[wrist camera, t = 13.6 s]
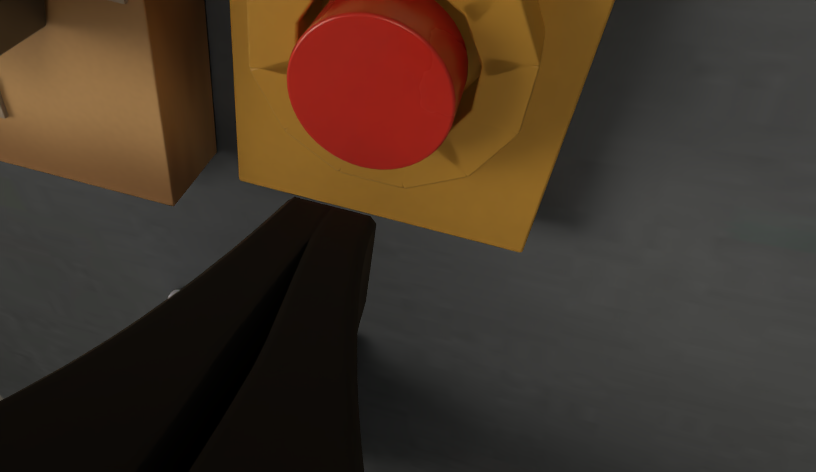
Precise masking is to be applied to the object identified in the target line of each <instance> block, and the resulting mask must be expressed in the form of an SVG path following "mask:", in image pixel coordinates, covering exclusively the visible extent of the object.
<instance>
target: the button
mask: <svg viewBox="0 0 816 472" xmlns="http://www.w3.org/2000/svg"><path fill="white" fill-rule="evenodd" d="M467 75H468V57H467V50H466V47H465V43H464V40H463V38H462V35H461V33H460V31H459V29H458V27H457V25H456V24H455V22H454V21H453V19H452V18H451V17H450V15H449V14H448V13H447V12H446V11H445V10H444V9H443V8H442V7H441V6H440V4H438V3H437V2H436V1H435V0H330V1H329V3H328V4H327V5H326V6H325V7H324V9H323V10H322V11H321V12H320V14H319V15H318V16H317V17H316V18H315V20H314V21H313V22H312V23H311V25H310V26H309V27H308V28H307V30H306V31H305V32H304V33H303V35H302V36H301V37H300V38H299V40H298V41H297V43H296V44H295V46H294V48H293V50H292V53H291V55H290V58H289V62H288V67H287V89H288V94H289V99H290V102H291V105H292V108H293V110H294V112H295V114H296V116H297V118H298V120H299V121H300V123H301V125H302V126H303V128H304V129H305V130H306V131H307V133H308V134H309V135H310V136H311V137H312V138H313V139H314V140H315V141H316V142H317V143H318V144H319V145H320V146H321V147H323V148H324V149H325V150H327V151H328V152H330V153H331V154H332V155H334V156H336V157H338V158H340V159H341V160H344V161H346V162H348V163H351V164H354V165H357V166H360V167H364V168H369V169H378V170H392V169H399V168H404V167H407V166H411V165H413V164H415V163H418V162H420V161H422V160H423V159H425V158H427V157H428V156H430V155H431V154H432V153H433V152H435V151H436V150H437V149H438V148H439V147H440V146H441V145H442V143H443V142H444V140H445V139H446V138H447V136H448V134H449V132H450V130H451V128H452V125H453V122H454V119H455V116H456V113H457V110H458V106H459V103H460V100H461V97H462V94H463V91H464V88H465V85H466V81H467Z"/></svg>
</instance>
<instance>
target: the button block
mask: <svg viewBox="0 0 816 472" xmlns="http://www.w3.org/2000/svg"><path fill="white" fill-rule="evenodd" d="M329 1H330V0H230V18H231V37H232V55H233V74H234V92H235V110H236V129H237V147H238V166H239V179H240V180H241V181H244V182H248V183H252V184H256V185H259V186H263V187H267V188H271V189H275V190H279V191H283V192H287V193H291V194H294V195H298V196H302V197H306V198H310V199H314V200H318V201H322V202H326V203H329V204H333V205H337V206H341V207H345V208H349V209H353V210H357V211H361V212H364V213H368V214H372V215H376V216H380V217H384V218H388V219H392V220H396V221H399V222H403V223H407V224H411V225H415V226H419V227H423V228H427V229H431V230H434V231H438V232H442V233H446V234H450V235H454V236H458V237H462V238H465V239H469V240H473V241H477V242H481V243H485V244H489V245H493V246H497V247H500V248H504V249H508V250H512V251H516V252H522V251H523V249H524V246H525V244H526V241H527V238H528V235H529V233H530V230H531V227H532V225H533V222H534V219H535V216H536V214H537V211H538V208H539V206H540V203H541V200H542V197H543V195H544V192H545V189H546V187H547V184H548V181H549V178H550V176H551V173H552V170H553V168H554V165H555V162H556V159H557V157H558V154H559V151H560V149H561V146H562V143H563V140H564V138H565V135H566V132H567V130H568V127H569V124H570V121H571V119H572V116H573V113H574V110H575V108H576V105H577V102H578V100H579V97H580V94H581V91H582V89H583V86H584V83H585V81H586V78H587V75H588V72H589V70H590V67H591V64H592V62H593V59H594V56H595V53H596V51H597V48H598V45H599V43H600V40H601V37H602V34H603V32H604V29H605V26H606V24H607V21H608V18H609V15H610V13H611V10H612V7H613V4H614V2H615V0H435V1H436V2H437V3H438V4H440V6H441V7H442V8H443V9H444V10H445V11H446V12H447V13H448V14H449V15H450V17H451V18H452V19H453V21H454V22H455V24H456V25H457V27H458V29H459V31H460V33H461V35H462V38H463V40H464V43H465V47H466V50H467V57H468V75H467V81H466V85H465V88H464V91H463V94H462V97H461V100H460V103H459V106H458V110H457V113H456V116H455V119H454V122H453V125H452V128H451V130H450V132H449V134H448V136H447V138H446V139H445V140H444V142H443V143H442V145H441V146H440V147H439V148H438V149H437V150H436V151H435V152H433V153H432V154H431V155H430V156H428V157H427V158H425V159H423V160H422V161H420V162H418V163H415V164H413V165H411V166H407V167H404V168H399V169H392V170H378V169H369V168H364V167H360V166H357V165H354V164H351V163H348V162H346V161H344V160H341V159H340V158H338V157H336V156H334V155H332V154H331V153H330V152H328V151H327V150H325V149H324V148H323V147H321V146H320V145H319V144H318V143H317V142H316V141H315V140H314V139H313V138H312V137H311V136H310V135H309V134H308V133H307V131H306V130H305V129H304V128H303V126H302V125H301V123H300V121H299V120H298V118H297V116H296V114H295V112H294V110H293V108H292V105H291V102H290V99H289V94H288V89H287V67H288V62H289V58H290V55H291V53H292V50H293V48H294V46H295V44H296V43H297V41H298V40H299V38H300V37H301V36H302V35H303V33H304V32H305V31H306V30H307V28H308V27H309V26H310V25H311V23H312V22H313V21H314V20H315V18H316V17H317V16H318V15H319V14H320V12H321V11H322V10H323V9H324V7H325V6H326V5H327V4H328V3H329Z"/></svg>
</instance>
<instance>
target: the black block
mask: <svg viewBox="0 0 816 472" xmlns="http://www.w3.org/2000/svg"><path fill="white" fill-rule="evenodd" d="M45 26H46V12H45V1H44V0H0V56H1V55H2V54H4V53H5V52H7V51H8V50H10V49H11V48H13V47H14V46H16V45H17V44H19V43H21V42H22V41H24V40H25V39H27V38H28V37H30V36H31V35H33V34H34V33H36V32H37V31H39V30H41V29H42V28H44V27H45Z"/></svg>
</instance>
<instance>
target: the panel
mask: <svg viewBox="0 0 816 472" xmlns="http://www.w3.org/2000/svg"><path fill="white" fill-rule="evenodd" d="M44 1H45V12H46V26H45V27H44V28H42V29H41V30H39V31H37V32H36V33H34V34H33V35H31V36H30V37H28V38H27V39H25V40H24V41H22V42H21V43H19V44H17V45H16V46H14V47H13V48H11V49H10V50H8V51H7V52H5V53H4V54H2V55H1V56H0V161H3V162H6V163H10V164H14V165H18V166H22V167H25V168H29V169H33V170H37V171H41V172H45V173H48V174H52V175H56V176H60V177H64V178H67V179H71V180H75V181H79V182H83V183H86V184H90V185H94V186H98V187H102V188H106V189H109V190H113V191H117V192H121V193H125V194H128V195H132V196H136V197H140V198H144V199H147V200H151V201H155V202H159V203H163V204H167V205H170V206H175V204H176V203H177V202H178V201H179V199H180V198H181V197H182V196H183V194H184V193H185V192H186V190H187V189H188V188H189V187H190V185H191V184H192V183H193V182H194V180H195V179H196V178H197V177H198V175H199V174H200V173H201V171H202V170H203V169H204V168H205V166H206V165H207V164H208V163H209V161H210V160H211V159H212V158H213V156H214V155H215V154H216V152H217V148H216V136H215V124H214V111H213V99H212V87H211V75H210V62H209V50H208V38H207V26H206V13H205V1H204V0H44Z"/></svg>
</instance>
